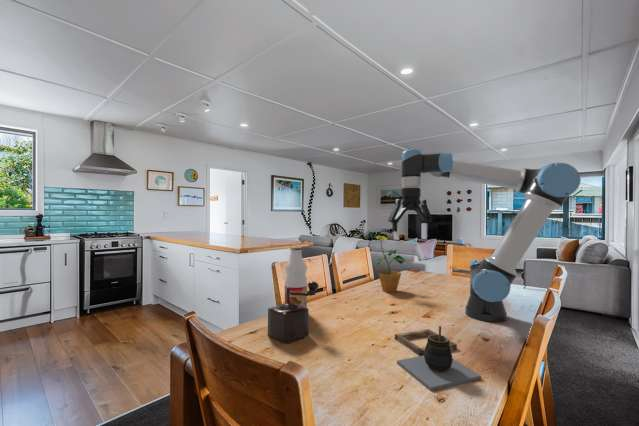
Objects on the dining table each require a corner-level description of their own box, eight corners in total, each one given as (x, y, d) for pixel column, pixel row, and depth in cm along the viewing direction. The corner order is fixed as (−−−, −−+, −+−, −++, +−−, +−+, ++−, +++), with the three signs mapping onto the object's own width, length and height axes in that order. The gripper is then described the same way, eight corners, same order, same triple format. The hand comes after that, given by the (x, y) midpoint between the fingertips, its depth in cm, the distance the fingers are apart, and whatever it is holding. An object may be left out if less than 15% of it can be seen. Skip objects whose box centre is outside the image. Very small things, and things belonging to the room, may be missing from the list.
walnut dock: (428, 333, 108) (428, 329, 108) (456, 349, 95) (456, 344, 95) (394, 338, 103) (394, 334, 103) (419, 356, 91) (419, 351, 91)
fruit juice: (311, 313, 128) (311, 247, 127) (293, 319, 121) (294, 248, 121) (297, 308, 134) (297, 245, 134) (280, 313, 128) (280, 246, 128)
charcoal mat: (442, 354, 92) (442, 352, 92) (481, 378, 78) (481, 375, 78) (396, 363, 86) (396, 360, 86) (430, 390, 73) (430, 387, 73)
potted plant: (373, 294, 158) (373, 236, 157) (372, 286, 176) (373, 234, 176) (408, 296, 155) (409, 237, 154) (404, 287, 173) (405, 234, 173)
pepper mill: (287, 345, 98) (287, 289, 97) (266, 335, 105) (267, 283, 105) (320, 331, 109) (321, 281, 109) (299, 323, 116) (300, 276, 116)
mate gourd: (424, 371, 80) (424, 333, 80) (423, 359, 87) (423, 324, 87) (453, 376, 78) (454, 337, 78) (450, 362, 85) (450, 327, 85)
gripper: (429, 189, 133) (429, 237, 133) (379, 187, 125) (379, 239, 125) (441, 188, 126) (441, 239, 126) (390, 186, 118) (389, 240, 118)
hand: (410, 239), depth 126 cm, fingers open, 13 cm apart
